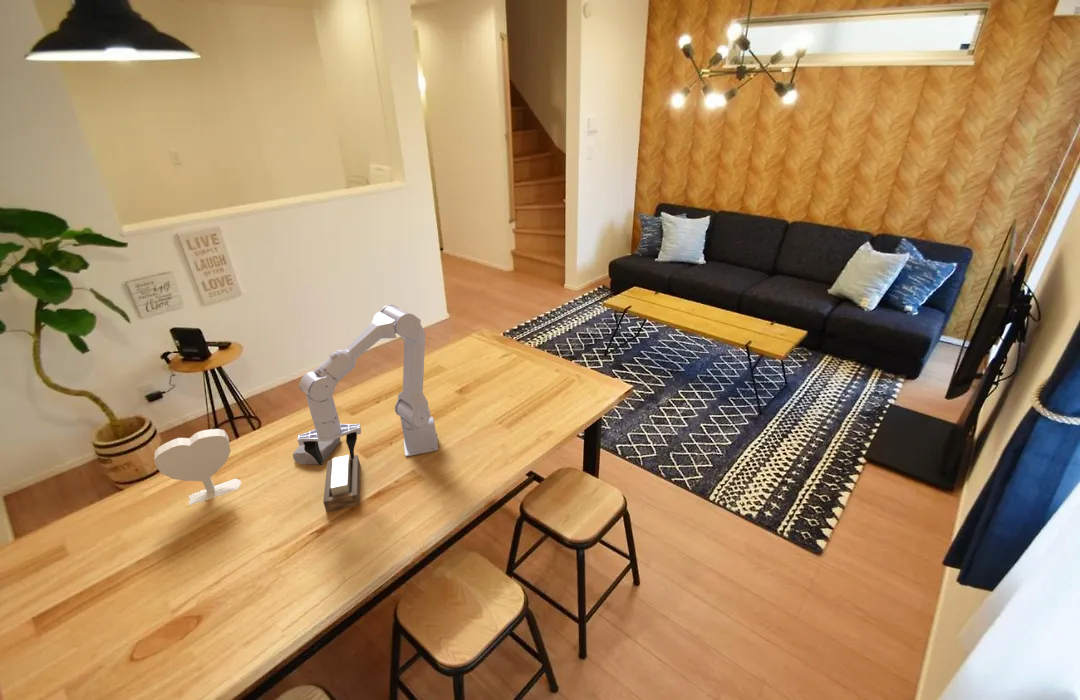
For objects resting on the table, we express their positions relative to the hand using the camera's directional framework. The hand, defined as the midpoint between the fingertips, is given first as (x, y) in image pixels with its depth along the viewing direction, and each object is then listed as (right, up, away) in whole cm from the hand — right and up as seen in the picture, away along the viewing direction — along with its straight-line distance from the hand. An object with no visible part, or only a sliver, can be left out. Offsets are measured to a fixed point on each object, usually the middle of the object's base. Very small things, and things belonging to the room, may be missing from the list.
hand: (337, 459), depth 126 cm
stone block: (-13, -2, +18) cm, 22 cm away
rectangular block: (0, -7, +4) cm, 8 cm away
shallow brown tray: (0, -8, +4) cm, 9 cm away
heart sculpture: (-35, -10, +3) cm, 36 cm away
